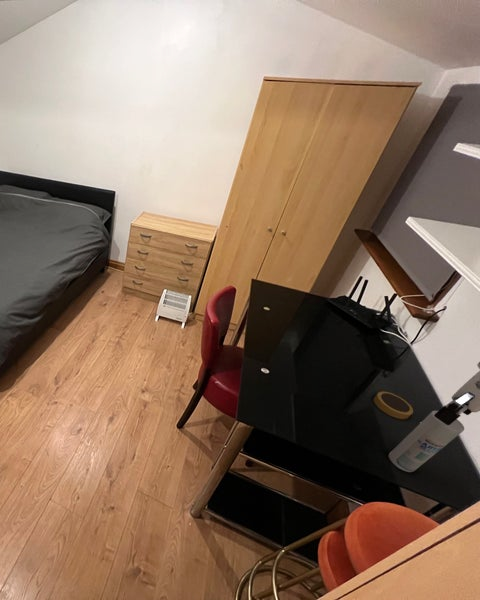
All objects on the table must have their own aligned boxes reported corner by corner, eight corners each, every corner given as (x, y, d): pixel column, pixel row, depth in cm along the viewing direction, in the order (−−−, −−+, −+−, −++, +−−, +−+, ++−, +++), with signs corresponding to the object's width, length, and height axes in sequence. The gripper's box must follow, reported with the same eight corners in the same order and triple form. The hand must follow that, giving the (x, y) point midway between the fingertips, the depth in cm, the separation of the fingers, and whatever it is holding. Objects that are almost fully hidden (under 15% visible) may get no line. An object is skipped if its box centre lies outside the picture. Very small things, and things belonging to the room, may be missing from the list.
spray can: (408, 456, 98) (455, 414, 87) (419, 476, 93) (471, 434, 82) (383, 448, 100) (426, 407, 89) (393, 468, 95) (440, 426, 84)
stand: (414, 414, 112) (419, 409, 111) (398, 422, 109) (403, 417, 107) (383, 393, 120) (388, 388, 119) (367, 400, 117) (371, 395, 115)
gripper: (509, 390, 69) (451, 437, 79) (542, 373, 76) (485, 418, 85) (465, 366, 75) (416, 412, 85) (499, 351, 81) (450, 396, 91)
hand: (451, 415), depth 85 cm, fingers open, 9 cm apart
